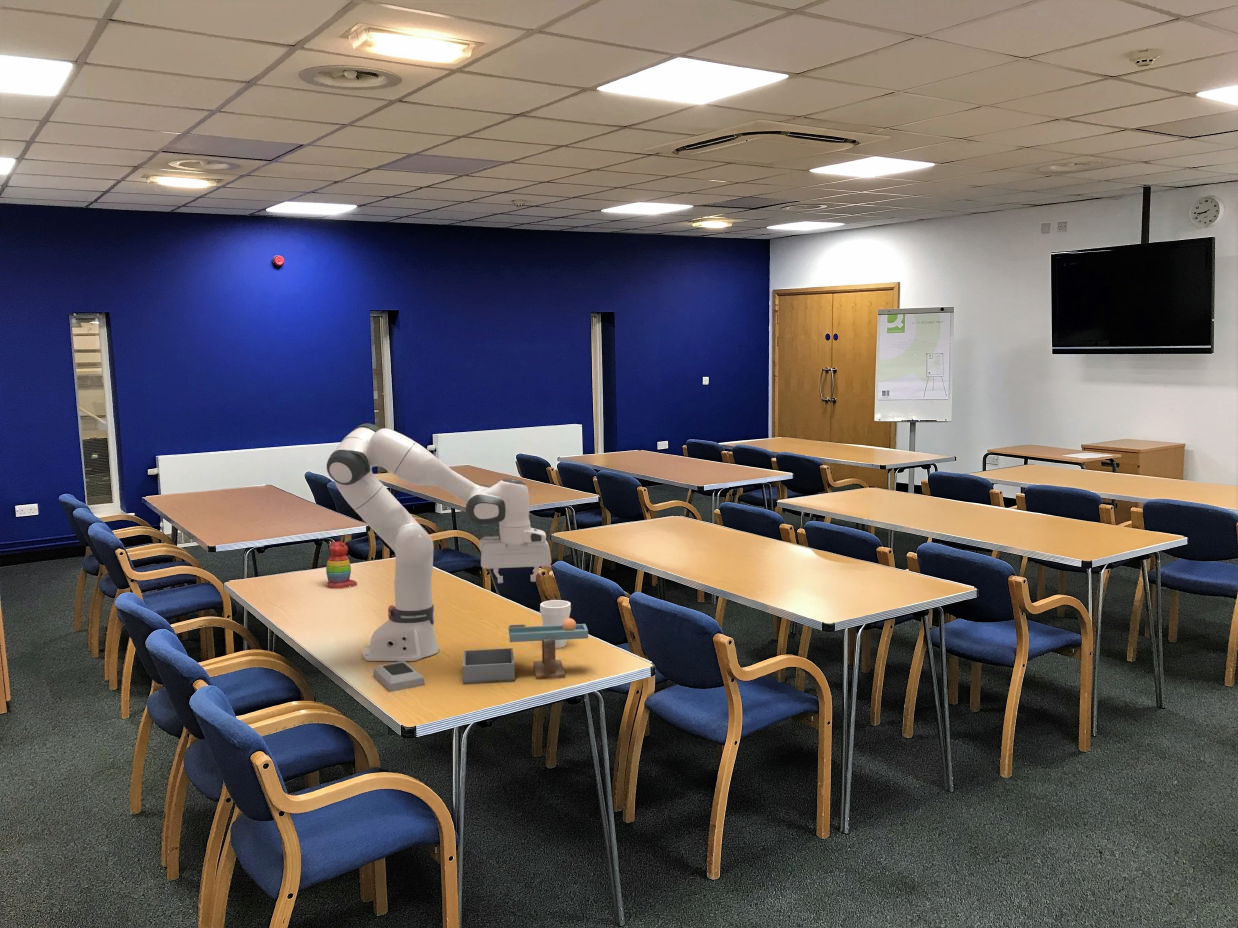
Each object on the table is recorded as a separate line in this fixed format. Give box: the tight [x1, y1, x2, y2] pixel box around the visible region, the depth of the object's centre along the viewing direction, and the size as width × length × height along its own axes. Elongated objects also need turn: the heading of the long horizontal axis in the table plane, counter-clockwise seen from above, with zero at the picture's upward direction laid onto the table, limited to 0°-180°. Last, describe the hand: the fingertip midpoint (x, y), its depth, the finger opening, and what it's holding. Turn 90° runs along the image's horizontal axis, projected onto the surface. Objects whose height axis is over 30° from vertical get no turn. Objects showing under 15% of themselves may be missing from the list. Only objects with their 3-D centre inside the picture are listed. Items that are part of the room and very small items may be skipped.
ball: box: [562, 617, 577, 631], centre depth 265 cm, size 4×4×4 cm
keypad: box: [372, 661, 425, 693], centre depth 258 cm, size 10×4×15 cm
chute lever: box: [507, 623, 589, 643], centre depth 267 cm, size 22×13×2 cm, turn 99°
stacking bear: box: [325, 541, 358, 589], centre depth 366 cm, size 11×10×18 cm
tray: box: [462, 647, 516, 685], centre depth 263 cm, size 14×14×5 cm
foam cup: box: [539, 599, 572, 649], centre depth 289 cm, size 10×9×13 cm
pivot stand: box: [533, 638, 566, 680], centre depth 265 cm, size 8×13×11 cm, turn 9°
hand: (516, 582), depth 268 cm, fingers open, 8 cm apart
